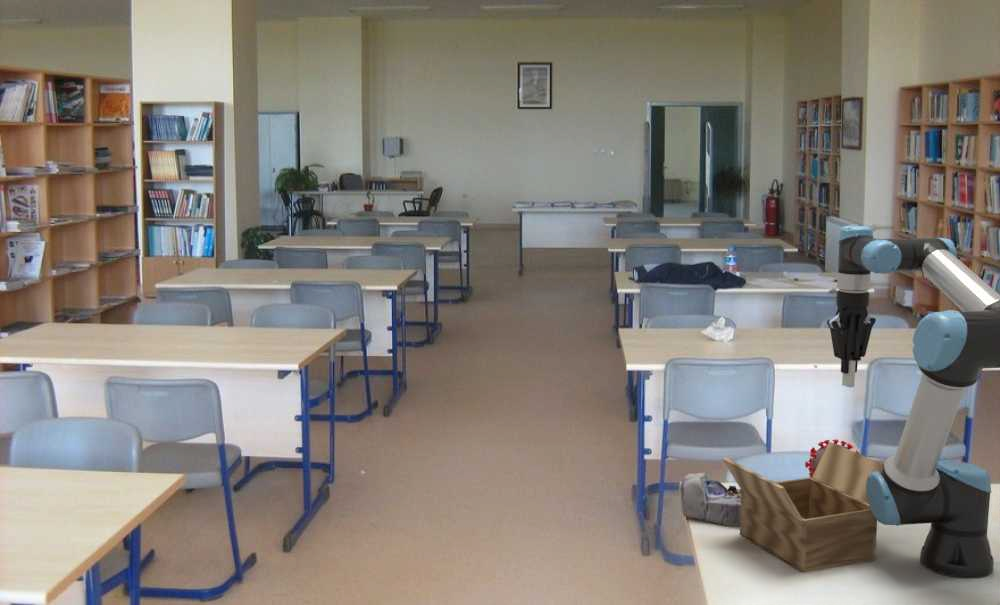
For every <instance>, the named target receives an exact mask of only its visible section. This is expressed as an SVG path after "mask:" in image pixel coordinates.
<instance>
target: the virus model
mask: <svg viewBox="0 0 1000 605" xmlns="http://www.w3.org/2000/svg"><path fill="white" fill-rule="evenodd" d="M829 442H831V440H830V439H825V440H824V441H819V442H818V444H817V445H818V446H819V448H818V449H817V450H816V447H815V446H813V447H811V449H810V455H809V457H810V458H809V460H808V461H805V462H804V466H805V468H806V469H808V472H809V473H808V475H809V477H808V478H810V477H811V478H812V476H813V474H814V472H815V470H816V468H817V466H818V464H819V462H820V460H821V458H822V456H823V454H824V452H825V450H826V448H827V446H828V444H829ZM832 443H834V444H837V445H839V446H841V447H844V448H846V449H849V450H851V449H854V446H853V445H852V444H851V443H848V442H846V441H844V440H841V441H840V444H838V443H839V439H838V438H836V439H832ZM824 444H825V445H824ZM855 452H856V453H858V454H860V452H859V451H858V449H856V450H855ZM813 479H814V478H813ZM815 480H816V479H815ZM817 481H818V480H817ZM826 485H827V484H826ZM828 486H829V485H828ZM830 487H831V486H830ZM832 488H833V487H832ZM834 489H835V488H834ZM836 490H837V489H836Z"/></svg>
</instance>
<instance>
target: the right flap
mask: <svg viewBox="0 0 1000 605" xmlns="http://www.w3.org/2000/svg"><path fill="white" fill-rule="evenodd" d="M839 445H840V444H838V443H837V444H834V442H833V441H829V444H828V446H827V448H826V450H825V452H824V454H823V456H822V458H821V460H820V462H819V464H818V466H817V468H816V470H815V472H814V474H813V476H812V478H814V479H816V480H818V481H820V482H822V483H824V484H827V485H829V486H831V487H833V488H835V489H837V490H839V491H841V492H843V493H845V494H847V495H849V496H851V497H853V498H855V499H858V500H860V501H862V502H864V503H866V504H868V505H869V503H868V499H867V494H866V481H867V477H868V475H869V474H870V473H873V472H875V471H878V472H881V471H882V470H883V466H884V464H885V463H883V462H880V461H877V460H875V459H873V458H870V457H868V456H866V455H863V454H861V453H859V454H858V453H856V451H853V450H851V449H850V450H849V449H846V448H844V447H841V446H839Z"/></svg>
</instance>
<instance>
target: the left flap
mask: <svg viewBox="0 0 1000 605" xmlns="http://www.w3.org/2000/svg"><path fill="white" fill-rule="evenodd" d="M721 459H722V460H723V463H724V464H725V465H726V467H727V469H728V470H729V472H730V474H731V475H732V477H733V479H734V480H735V482H736V484H737V486H738V487H739V489H742V490H743V491H745V492H747V493H749V494H751V495H753V496H755V497H756V498H758V499H760V500H762V501H764V502H766V503H768V504H769V505H771V506H773V507H775V508H777V509H779V510H780V511H782V512H784V513H786V514H788V515H790V516H792V517H793V518H795V519H797V520H799V521H802V520H803V519H802V517H801V515H800V514H799V512H798V510H797V509H796V507H795V505H794V504H793V502H792V500H791V498H790V497H789V495H788V493H787V492H786V490H785V488H784V487H783V486H781V485H779V484H777V483H775V481H773V480H771V479H769V478H767V477H766V476H762V475H761V474H759V473H756V472H755V471H753V470H751V469H749V468H747V467H745V466H743V465H740V464H739V463H737V462H735V461H733V460H732V459H729V458H728V457H725V456H723V457H722V458H721Z"/></svg>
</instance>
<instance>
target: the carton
mask: <svg viewBox="0 0 1000 605" xmlns="http://www.w3.org/2000/svg"><path fill="white" fill-rule="evenodd" d="M809 477H810V476H809ZM809 477H805V478H804V477H803V478H798V479H797V478H796V479H791V480H783V481H776V482H775V481H774V482H775V483H777V484H779V485H781V486H783V487H784V488H785V490H786V492H787V493H788V495H789V497H790V498H791V500H792V502H793V504H794V505H795V507H796V509H797V510H798V512H799V514H800V515H801V517H802V519H803V520H802V521H799V520H797V519H795V518H793V517H792V516H790V515H788V514H786V513H784V512H782V511H780V510H779V509H777V508H775V507H773V506H771V505H769V504H768V503H766V502H764V501H762V500H760V499H758V498H756V497H755V496H753V495H751V494H749V493H747V492H745V491H743V490H742V489H741V514H740V526H739V536H740V535H741V536H740V537H741V538H743V539H744V540H746V541H748V540H749V541H748V542H750V543H751V544H754V546H755V545H756V546H757V547H758V548H760V549H762V550H763V551H765V552H766V553H768V554H770V555H771V556H774V557H775V558H776V559H778V560H779V561H782V562H783V563H784V564H786V565H788V566H790V567H792V568H793V569H794V570H796V571H798V572H799V573H801V574H803V573H809V572H815V571H821V570H827V569H831V568H837V567H842V566H848V565H854V564H859V563H863V562H870V561H875V560H876V546H877V533H878V532H877V529H878V520H877V519H876V518H875V517H874V515H873V513H872V511H871V509H870V506H869V504H867V503H865V502H862V501H860V500H858V499H856V498H854V497H852V496H850V495H848V494H846V493H843V492H841V491H839V490H836V489H834V488H832V487H830V486H828V485H826V484H824V483H822V482H820V481H817V480H815V479H813V478H811V477H810V478H809Z"/></svg>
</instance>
